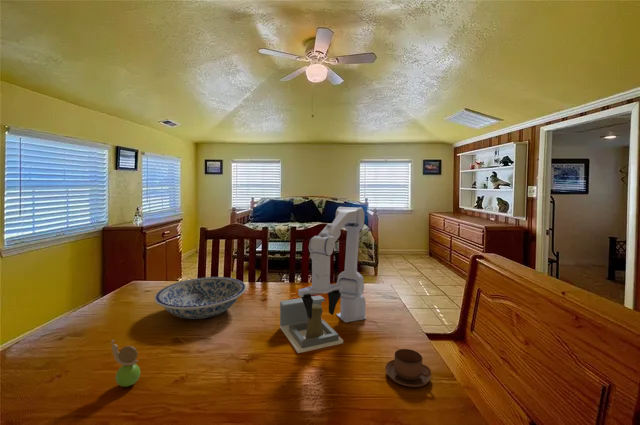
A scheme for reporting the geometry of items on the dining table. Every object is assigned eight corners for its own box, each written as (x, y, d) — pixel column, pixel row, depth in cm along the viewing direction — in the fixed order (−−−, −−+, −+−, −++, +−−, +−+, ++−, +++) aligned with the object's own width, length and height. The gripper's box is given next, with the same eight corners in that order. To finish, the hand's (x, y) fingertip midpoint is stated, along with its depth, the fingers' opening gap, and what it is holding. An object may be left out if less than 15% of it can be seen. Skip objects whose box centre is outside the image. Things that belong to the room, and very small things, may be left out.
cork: (323, 341, 101) (323, 309, 100) (304, 341, 101) (305, 308, 101) (323, 333, 107) (324, 302, 106) (306, 332, 108) (306, 302, 107)
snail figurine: (119, 378, 82) (117, 335, 82) (144, 377, 83) (143, 334, 82) (107, 392, 77) (105, 345, 76) (134, 391, 78) (132, 345, 77)
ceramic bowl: (134, 322, 117) (133, 296, 116) (200, 293, 148) (200, 273, 147) (205, 340, 104) (205, 311, 103) (262, 304, 135) (262, 282, 135)
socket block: (319, 320, 120) (320, 295, 119) (343, 343, 103) (343, 313, 102) (280, 327, 113) (280, 301, 113) (297, 353, 96) (298, 322, 95)
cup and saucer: (430, 369, 89) (431, 349, 88) (431, 396, 77) (432, 372, 77) (388, 361, 92) (388, 341, 92) (382, 385, 81) (383, 363, 81)
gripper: (304, 279, 92) (303, 324, 93) (347, 274, 98) (346, 316, 99) (296, 273, 98) (295, 315, 99) (336, 269, 104) (336, 308, 105)
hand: (320, 315), depth 99 cm, fingers open, 7 cm apart
